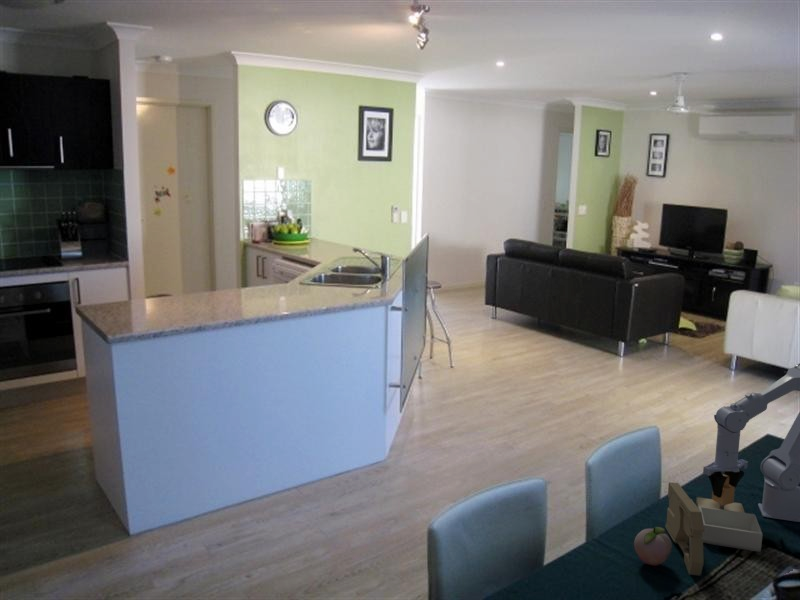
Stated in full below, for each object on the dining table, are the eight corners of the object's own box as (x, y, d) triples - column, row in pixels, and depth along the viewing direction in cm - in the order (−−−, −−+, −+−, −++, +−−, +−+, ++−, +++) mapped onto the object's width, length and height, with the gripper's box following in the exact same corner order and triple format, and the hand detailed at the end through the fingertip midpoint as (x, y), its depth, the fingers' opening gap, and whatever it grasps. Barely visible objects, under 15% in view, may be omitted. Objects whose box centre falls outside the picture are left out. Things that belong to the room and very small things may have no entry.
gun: (704, 579, 157) (707, 518, 155) (689, 577, 157) (692, 517, 156) (676, 535, 181) (679, 482, 179) (664, 534, 181) (666, 481, 180)
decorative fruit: (640, 550, 169) (643, 514, 167) (673, 562, 164) (676, 525, 162) (627, 566, 162) (629, 529, 160) (661, 579, 156) (664, 540, 155)
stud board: (740, 508, 192) (742, 492, 191) (748, 528, 180) (749, 511, 180) (696, 501, 196) (697, 486, 195) (700, 520, 184) (701, 504, 183)
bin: (753, 531, 179) (754, 514, 178) (760, 552, 168) (762, 534, 168) (697, 522, 183) (698, 506, 182) (701, 542, 173) (702, 524, 172)
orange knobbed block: (722, 496, 190) (724, 472, 189) (733, 502, 186) (735, 478, 185) (711, 499, 188) (713, 474, 187) (722, 505, 185) (725, 480, 184)
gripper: (719, 458, 178) (715, 505, 181) (758, 451, 184) (754, 496, 186) (698, 449, 185) (695, 494, 187) (737, 442, 190) (733, 486, 192)
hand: (723, 494), depth 187 cm, fingers closed on orange knobbed block, 4 cm apart
